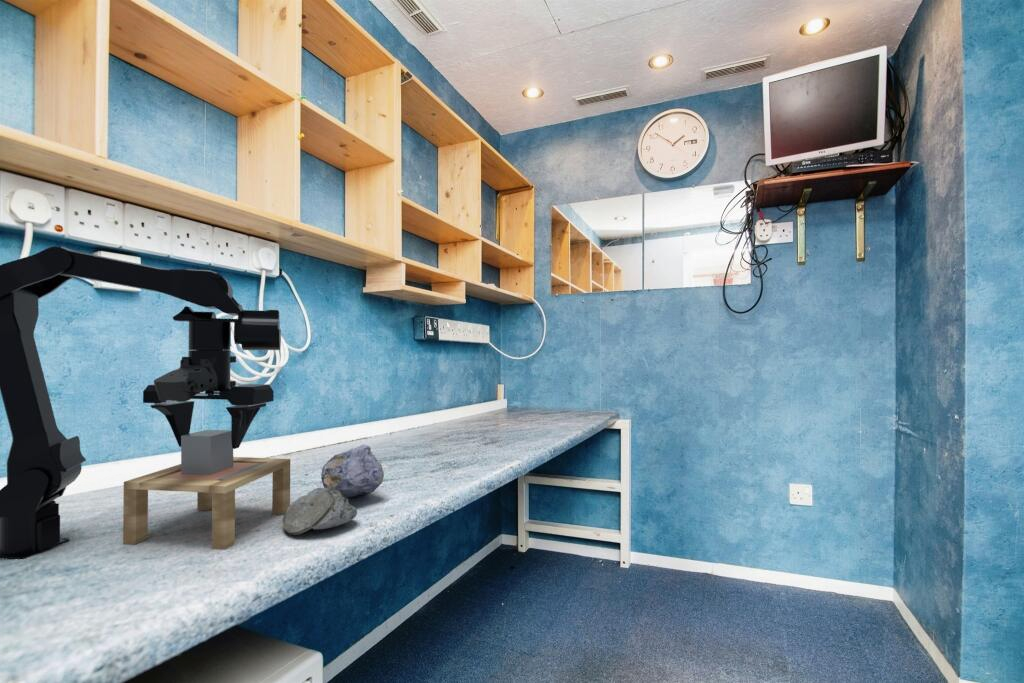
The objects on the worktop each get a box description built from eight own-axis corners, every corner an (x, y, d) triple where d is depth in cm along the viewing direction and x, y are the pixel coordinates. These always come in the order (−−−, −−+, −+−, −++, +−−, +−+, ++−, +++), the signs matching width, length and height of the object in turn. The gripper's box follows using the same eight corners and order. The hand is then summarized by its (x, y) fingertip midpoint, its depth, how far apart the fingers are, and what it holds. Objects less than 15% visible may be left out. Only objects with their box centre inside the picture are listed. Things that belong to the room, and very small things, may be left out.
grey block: (181, 474, 74) (181, 435, 74) (205, 465, 79) (205, 429, 79) (210, 475, 73) (210, 436, 73) (233, 466, 78) (233, 430, 78)
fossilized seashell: (283, 501, 80) (319, 463, 77) (330, 519, 84) (365, 485, 82) (270, 550, 72) (310, 510, 69) (323, 568, 76) (362, 531, 73)
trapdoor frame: (123, 543, 69) (123, 481, 69) (205, 506, 85) (206, 455, 85) (224, 549, 67) (225, 486, 67) (290, 510, 83) (290, 458, 83)
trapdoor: (159, 484, 72) (159, 477, 72) (209, 467, 82) (209, 461, 82) (224, 486, 71) (224, 479, 71) (266, 468, 81) (266, 462, 81)
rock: (358, 488, 96) (359, 438, 96) (390, 499, 89) (390, 446, 89) (307, 502, 87) (307, 447, 87) (337, 515, 81) (337, 456, 81)
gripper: (110, 350, 69) (109, 457, 69) (228, 351, 67) (227, 462, 67) (172, 349, 80) (171, 441, 80) (275, 350, 78) (275, 445, 78)
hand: (209, 447), depth 76 cm, fingers open, 9 cm apart
